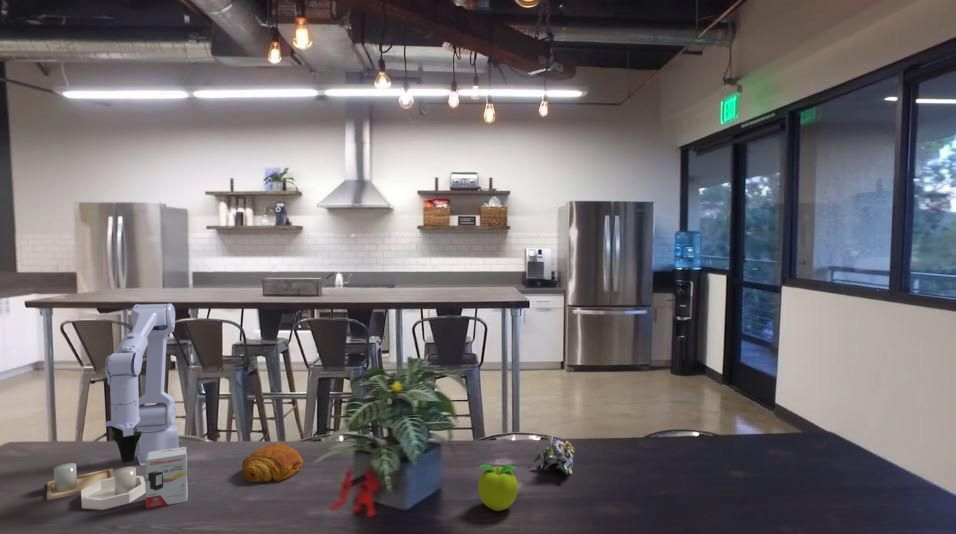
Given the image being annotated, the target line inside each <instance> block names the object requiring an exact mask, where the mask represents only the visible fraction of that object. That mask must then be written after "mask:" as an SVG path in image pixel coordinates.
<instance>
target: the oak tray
mask: <svg viewBox="0 0 956 534" xmlns="http://www.w3.org/2000/svg"><path fill="white" fill-rule="evenodd" d="M114 472H115V471H114V469H113V468H107V469H103V470H99V471H93V472H89V473H85V474H79V475H77V487H75V488H74V489H72V490H69V491H65V492H55V486H54V480H51V481H47V489H46V501H52V500H55V499H60V498H64V497H70V496H74V495H78V494H81V490H82V489H84V488H86V487H88V486H90V485H92V484H93V483H95V482H97V481H99V480H104V479H108V478H113V477H114Z"/></svg>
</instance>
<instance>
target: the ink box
mask: <svg viewBox="0 0 956 534" xmlns="http://www.w3.org/2000/svg"><path fill="white" fill-rule="evenodd" d="M187 450H188V448H187V447H186V446H182V447H181V446H179V448H173V449H166V450H159V451H152V452H149V453H147V454H146V465H145V487H146V493H145V504H146V505H145V506H146V507H145V508H146V509H147V510H149V509H152V508H159V507H163V506H168V505H174V504H179V503H185V502H187V501H188V497H189V496H188V494H189V493H188V491H189V490H188V451H187Z"/></svg>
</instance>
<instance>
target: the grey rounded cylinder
mask: <svg viewBox="0 0 956 534" xmlns="http://www.w3.org/2000/svg"><path fill="white" fill-rule="evenodd" d="M113 472H114V479H115V495H120V494H124V493H127V492H129V491H131V490H132V489H134V488H136V476H137V468H136V467H135V466H126V467H125V466H124V467H121V468H119V469H117V470H115V471H113Z"/></svg>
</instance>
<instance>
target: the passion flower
mask: <svg viewBox="0 0 956 534" xmlns="http://www.w3.org/2000/svg"><path fill="white" fill-rule="evenodd" d="M547 439H548V442H549V444H550V449H549V447H545V450H544V452H542V453H541V452H540V450H539V445H538V444H535V446H534V447H535V449H536V451H537V452H538V456H536V457H535V458H534V460H533V463H536V462H537V461H539V460H540V459H541V464H540V469H539V471H540V470H542V469H543V467H545V466H547V463H548V462H549V461H551V460H554V461H555V463H556V462H557V463H560V464H561V465H560V468H561V470H562V472H563V473H564V474H565V475H566V476H568V475H570V474H571V475H572V474H573V471H572V468H573V466H574V461H575V460H574V457H575V456H574V454H577V453H576V449H575V447H573V446H572V443H571V440H570V439H569V440H566V441H565V443H564V442H563V441H562V440H561V439H560V438H559V439H558V438H556V437H554V436H553V435H551V436H550V435H547ZM571 452H572V453H571ZM573 453H574V454H573Z"/></svg>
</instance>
